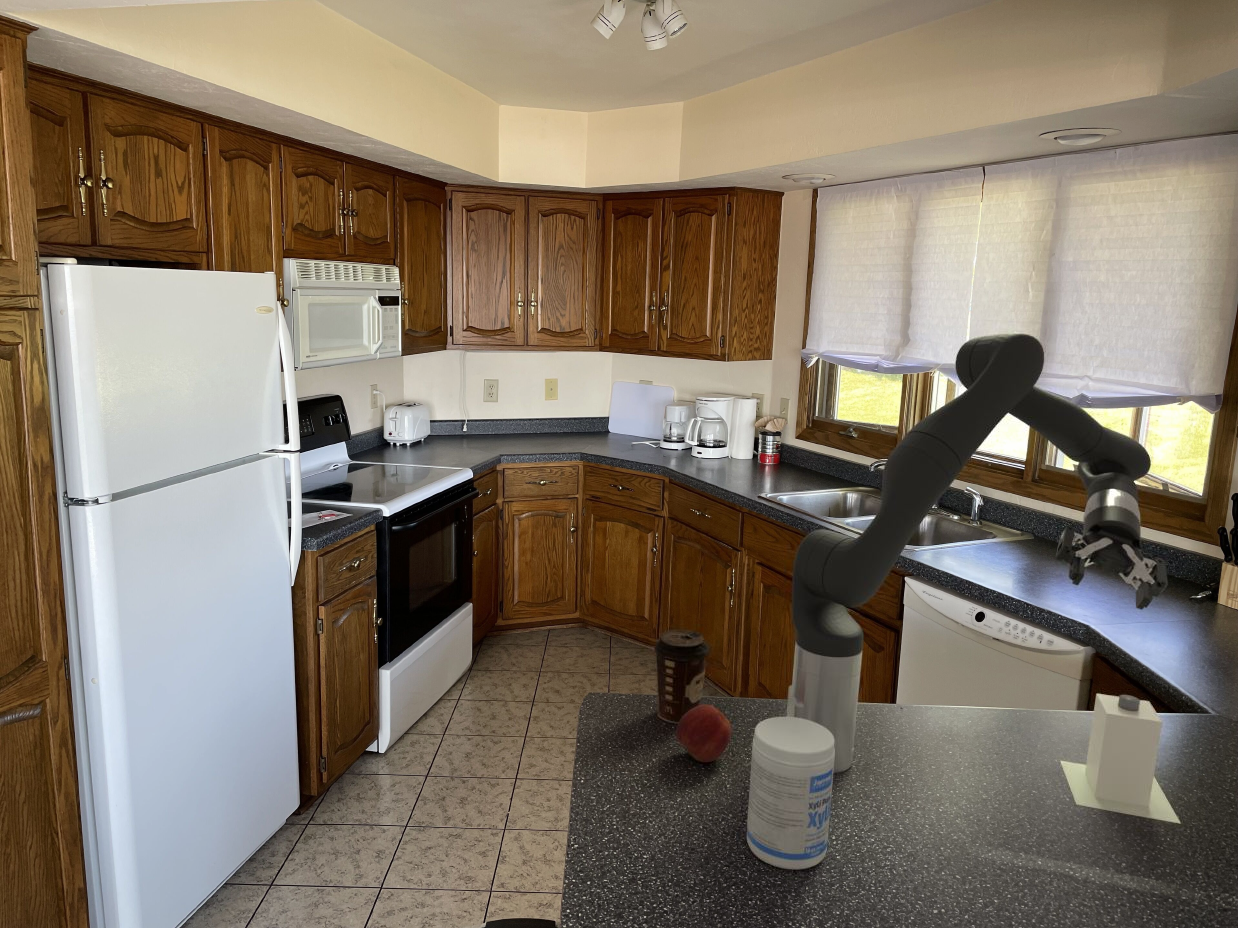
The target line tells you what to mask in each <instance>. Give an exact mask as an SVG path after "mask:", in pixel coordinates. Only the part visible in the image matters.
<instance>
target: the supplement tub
mask: <svg viewBox="0 0 1238 928" xmlns="http://www.w3.org/2000/svg"><path fill="white" fill-rule="evenodd" d="M753 735H754V736H753V738H752V739H753V740H752V747H751V749H752V750H751V762H750V763H751V764H750V779H749V794H748V806H747V807H748V808H747V821H746V822H747V823H746V841H747V845H748V846H749V849H750V850H751V852H752V853H753V854H754V855H755V856H756V857H757V858H758V859H760V860H761V861H763V862H764V863H767V864H769V865H771V866H773V867H777V868H781V869H786V870H805V869H808V868H811V867H814V866H816V865H818V864H819V863H821V862H822V861H823V859H824V858H825V856H826V855H827V849H828V839H829V826H830V815H831V804H832V802H831V801H832V792H833V791H832V790H833V780H834V779H833V778H834V773H833V770H834V758H835V749H834V743H835V740H834V737H833V735H832V733H831V732H830V731H829V730H828V729H826V728H825V727H823V726H822V725H820V724H817V723H815V722H812V721H809V720H806V719H802V718H796V717H787V716H777V717H776V716H775V717H769V718H766V719H764V720H761V721H760V722H759V723H758V724H756V726H755V729H754V734H753Z"/></svg>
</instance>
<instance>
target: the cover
mask: <svg viewBox="0 0 1238 928" xmlns="http://www.w3.org/2000/svg"><path fill="white" fill-rule="evenodd" d="M1162 727H1163V721H1162V719H1161V717H1160V715H1159V714H1158V713H1157V711H1156V710H1155V708H1154V707H1153V705H1152V704H1151V702H1150V701H1149V700H1142V699H1139V698H1138V697H1135V696H1133V695H1128V694H1120V695H1119V696H1116V695H1108V694H1101V693H1096V694H1095V702H1094V709H1093V715H1092V722H1091V728H1090V735H1089V736H1090V737H1089V743H1088V750H1087V757H1086V762H1085V765H1086V769H1085V775H1086V777H1087V780H1088V782H1089V785H1090V787H1091V790H1092V792H1093V794H1094V797H1097V798H1102V799H1108V800H1113V801H1119V802H1124V803H1130V804H1135V805H1141V806H1146V807H1149V803H1150V797H1151V790H1152V784H1153V778H1154V777H1155V770H1156V765H1157V759H1158V758H1157V757H1158V752H1159V745H1160V741H1161V740H1160V738H1161V733H1162Z"/></svg>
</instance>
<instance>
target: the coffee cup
mask: <svg viewBox="0 0 1238 928" xmlns="http://www.w3.org/2000/svg"><path fill="white" fill-rule="evenodd" d="M653 649H654V652H655V654H656V657H655V659H656V662H655V663H656V684H657V688H656V691H657V705H658V710H657V716H658V718H660V719H661V720H663V721H664V722H668V723H670V724H671V723H672V724H676V725H678V723H679V721H680V720H681V718H682V717H683V716H684V715H685V714H686V713H687V712H688V711H689V710H691V709H692V708H694V707H696V706H699V705H700V701H701V698H702V694H703V689H704V688H703V686H704V680H705V673H706V668H707V663H706V660H705V658H707V656H709V655H710V652H711V648H710V646H709V645H708V642H707V641H705V638H704V636H703V635H702V633H699V632H696V631H695V630H687V629H686V630H685V629H670V630H667V631H664V632H662V633H661V634H660V635H659V639H658V640H657V641H656V642H655V644H654V646H653Z"/></svg>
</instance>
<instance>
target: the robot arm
mask: <svg viewBox="0 0 1238 928" xmlns="http://www.w3.org/2000/svg"><path fill="white" fill-rule="evenodd" d="M954 362H955V372H956V375H957V378H958V381H959V382H960V383H961V385H962V386H963V387H964V388H965V391H964V392H963V393H961V394H960V395H958V396H957V397H955V398H954V399H952V400H951V401H949V402H947V403H946V404H943V406H941V407H939V408H938V409H936V410H935V411H932V412H931V413H930V414H929V415H927V416H925V417H924V418H923V419H921V420H920V421H919V422H917V423H916V424H915V425H914V426H913V427H912V428H910V430H909V431H908V432H907V433H906V434H904V435H905V436H903V437H902V439H901V440H900V441H899V443H898V444H897V445H896V446H895V447H894V449H893V450H892V452H891V453H890V455H889V456H888V458H887V459H886V462H885V463H884V468H883V472H882V484H881V502H880V506H879V509H878V510H877V512H876V515H875V516H874V518H873V519H872V521H871V522H870V523H869V524H868V526H867V527H866V528H865V530H863V531H862V533H861V534H860V535H858V537H852V536H850V535H845V534H842V533H839V532H836V531H833V530H829V529H816V530H813V531H811V532H809V534H807V535H806V536H805V537H803V539H802V541H801V542H800V544H799V546H798V548H797V550H796V553H795V557H794V562H793V569H792V594H791V595H792V596H791V599H792V600H791V601H792V604H791V618H792V625H793V627H794V629H795V645H794V656H793V657H794V658H793V669H792V671H793V672H792V683H791V684H790V685H789V686H788V691H787V703H786V704H787V705H786V707H787V708H786V717H796V718H802V719H806V720H809V721H812V722H815V723H817V724H820V725H822V726H823V727H825V728H826V729H828V730H829V731H830V732H831V733H832V735H833V737H834V740H835V743H834V749H835V758H834V770H833V774H838V773H839V774H840V773H843V772H845V771H847V770H849V769H850V768H851V767H852V764H853V757H854V755H853V754H854V750H855V749H854V743H855V734H856V724H857V722H856V721H857V714H858V713H857V712H858V711H857V710H858V700H859V691H860V679H861V669H862V659H863V648H864V631H863V628H862V627H861V626H860V624H859V623H857V621H856V620H855V619H854V618H853V617H852V616H851V614H849V612H848V611H847V609H846V607H847V608H857V607H861V606H862V605H865V604H866V603H867V602H869V601H870V599H872V598H873V597H874V596H875V594H876V593H877V592H878V591H879V589H880V588H881V587H882V585H883V584H884V582H885V580H886V579H887V577H888V576H889V574H890V572H891V571H892V569H893V567H894V566H895V564H896V562H897V561H898V559H899V557H900V556H901V554H902V552H903V551H904V549H905V547H906V546H907V544H908V542H910V539H911V538H912V537H913V535H914V534H915V532H916V531H917V529H918V528H919V527H920V526H921V524H922V522H923V521H924V520H925V518H926V517H927V515H928V514H929V513H930V512H931V510H932V509H933V508H934V506H935V505H936V503H937V502H938V501H939V500H940V498H941V497H942V496H944V495H943V494H945V492H946V491H947V490H948V489H949V488H950V487H951V485H952V483H954V481H955V480H956V478H957V477H958V476H959V474H960V473H961V472H962V470H963V469H964V468H965V466H966V464H967V463H968V462H969V460H970V459H971V458H972V457H973V455H974V454H975V452H977V450H978V449H979V448H980V447H981V445H982V444H983V443H984V442H985V441H986V439H987V438H988V437H989V436H990V434H991V433H992V432H993V430H994V429H995V428H996V427H997V425H998V424H999V423H1000V422H1001V421H1002V420H1003V419H1004V418H1005V417H1006V416H1007V415H1008V414H1009V415H1011V416H1013V417H1014V418H1016V419H1017V420H1019V421H1021V422H1022V423H1023V424H1025V425H1027V426H1028V427H1030V428H1031V429H1032V430H1034V431H1035V432H1037V433H1039V434H1040V435H1041V436H1042V437H1043V438H1044V439H1046V440H1047V441H1049V443H1050V444H1051V445H1053V446H1054V447H1055V448H1056V449H1058V450H1059V451H1060V452H1061V453H1062V454H1064V455H1065V456H1066V457H1068V459H1070V460H1072V461H1074V462H1077V467H1076V470H1077V474H1078V476H1079V479H1080V480H1081V482H1082V484H1083V486H1084V487H1085V491H1086V494H1087V497H1086V506H1085V508H1084V509H1085V510H1084V514H1083V518H1082V520H1083V529H1082V534H1080V533H1077V532H1076V528H1075V527H1074V526H1072V525H1070V524H1069V525H1066V526H1065V528H1064V529H1063V531H1062V533H1061V535H1060V537H1059V539H1058V545H1057V549H1056V554H1055V559H1056V560H1058V561H1059V562H1066V563H1067V565H1068V578H1069V580H1072V581H1071V582H1072V583H1071V584H1073V585H1075V586H1079V585H1080V583H1081V582H1082V580H1083V579H1084V577H1085V568H1086V567H1089V566H1090V565H1093V564H1094V565H1096V567H1098V568H1100V569H1104V570H1105V569H1106V570H1108V571H1110V572H1112V573H1114V574H1117V575H1119V576H1120V577H1121V578H1122V579H1123V581H1125V583H1126V584H1127V585H1128V584H1131V585H1132V586H1133V587H1134V590H1135V608H1136V609H1139V610H1141V611H1142V610H1143V609H1145V608H1146V609H1147V608H1148V607H1149V605H1150V604H1151V603H1152V601H1153V600H1154V597H1156V598H1159V597H1160V595H1162V592H1163V591H1164V590H1165V589H1166V588H1167V586H1168V585H1169V581H1168V576H1167V575H1168V573H1167V568H1166V563H1165V562H1166V561H1165V559H1163V558H1162V557H1155V559H1154V560H1152V559H1149V558H1146V557H1144V555H1143V553H1142V552H1141V544H1142V543H1141V542H1142V541H1141V534H1142V533H1141V512H1140V509H1139V508H1140V507H1139V491H1138V490H1139V489H1138V487H1137V484H1136V483H1135V481H1138V480H1140V479H1142V478H1144V477H1145V476H1146V475H1147V474H1148V473H1149V471H1150V470H1151V465H1152V460H1151V457H1150V455H1149V452H1148V450H1147V449H1146V448H1145V447H1144V446H1143V445H1142V443H1140V442H1138V441H1137V440H1135V439H1134V438H1132V437H1130V436H1127V435H1126V434H1123V433H1121V432H1118V431H1116V430H1113V429H1111V428H1108V427H1106V426H1103V425H1102V424H1100V422H1098V421H1097V420H1096V419H1095V418H1094V417H1092V416H1091V415H1090V414H1089V413H1088V412H1087V411H1086V410H1085V409H1083V408H1082V407H1081V406H1079V405H1078V404H1075V402H1072V401H1070V400H1069V399H1066V398H1064V397H1062V396H1060V395H1057V394H1055V393H1052V392H1050V391H1048V390H1045V389H1043V388H1041V387H1039V386H1037V385H1036V384H1037V382H1038V380H1039V379H1040V377H1041V374H1042V373H1043V369H1044V364H1045V352H1044V347H1043V345H1042V343H1041V341H1039V339H1038V338H1037V337H1035V336H1034V335H1032V334H1029V333H1026V332H1020V331H1019V332H1018V331H1016V332H1014V331H1012V332H1011V331H1010V332H1003V333H997V334H996V333H995V334H990V335H989V334H986V335H983V336H978V337H974V338H971V339H969V340H967V341H966V342H964V344H962V345H961V346H960V348H959V350H958V351H957V354H956V357H955V361H954ZM1076 544H1079V547H1080V550H1077V551H1074V550H1073V549H1072V548H1073V546H1075V545H1076ZM1130 571H1131V572H1130ZM1140 579H1141V580H1142V581H1140Z"/></svg>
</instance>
